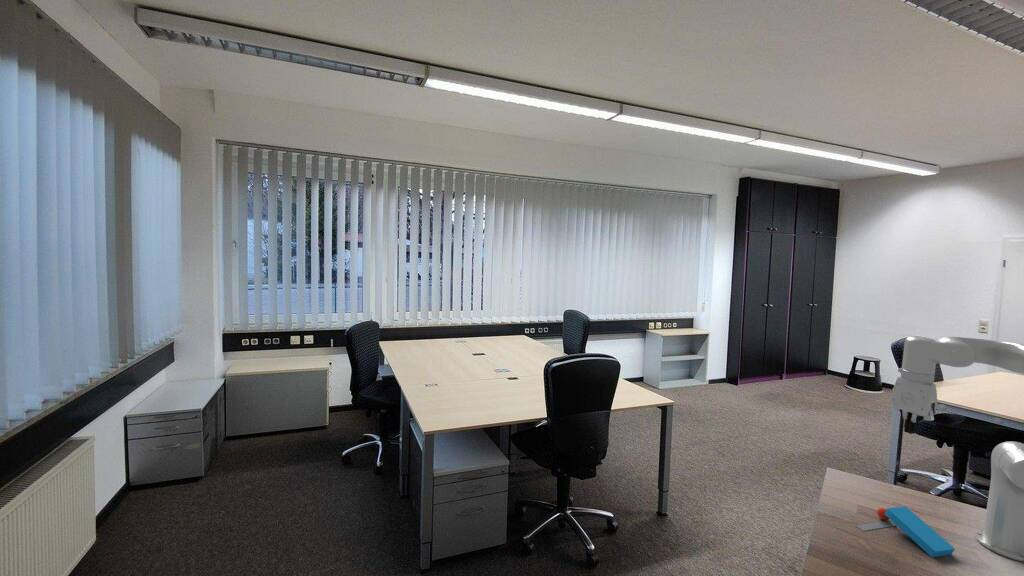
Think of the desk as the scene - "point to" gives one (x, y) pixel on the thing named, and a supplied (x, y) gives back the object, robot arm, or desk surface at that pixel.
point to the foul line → (876, 525)
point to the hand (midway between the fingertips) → (910, 432)
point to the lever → (917, 530)
